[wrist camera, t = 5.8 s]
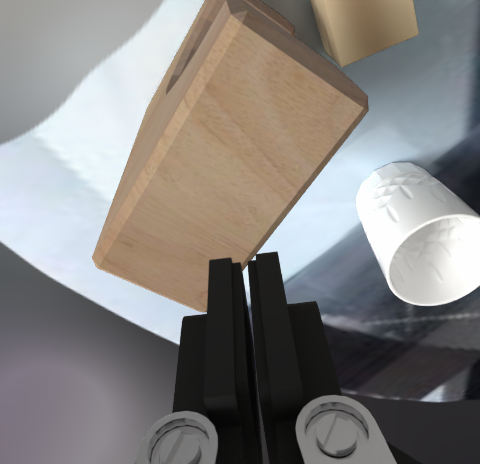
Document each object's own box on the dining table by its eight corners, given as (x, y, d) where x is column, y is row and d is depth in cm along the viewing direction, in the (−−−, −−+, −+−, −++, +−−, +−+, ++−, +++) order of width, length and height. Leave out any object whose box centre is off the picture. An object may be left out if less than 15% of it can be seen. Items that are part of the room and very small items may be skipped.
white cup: (414, 239, 42) (466, 312, 34) (336, 226, 41) (369, 299, 33) (453, 163, 38) (522, 224, 30) (367, 146, 37) (415, 205, 29)
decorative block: (221, -31, 30) (240, 1, 13) (289, 21, 32) (383, 108, 15) (142, 109, 34) (81, 267, 17) (206, 147, 36) (206, 322, 19)
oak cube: (375, -54, 30) (403, -54, 25) (391, 23, 32) (418, 34, 28) (303, -21, 30) (319, -15, 26) (324, 51, 33) (341, 67, 29)
